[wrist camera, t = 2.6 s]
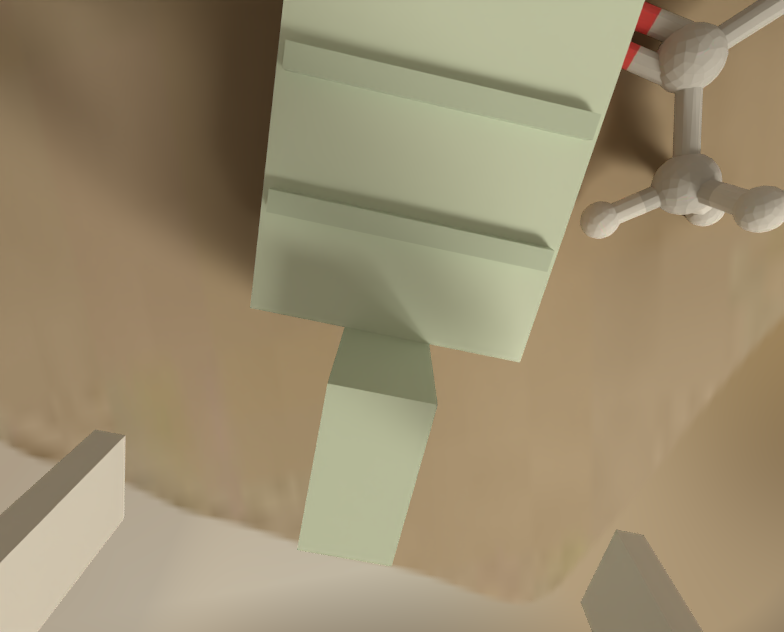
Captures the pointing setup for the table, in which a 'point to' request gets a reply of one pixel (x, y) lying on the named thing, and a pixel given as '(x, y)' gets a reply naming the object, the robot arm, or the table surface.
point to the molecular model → (691, 125)
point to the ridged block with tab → (420, 211)
